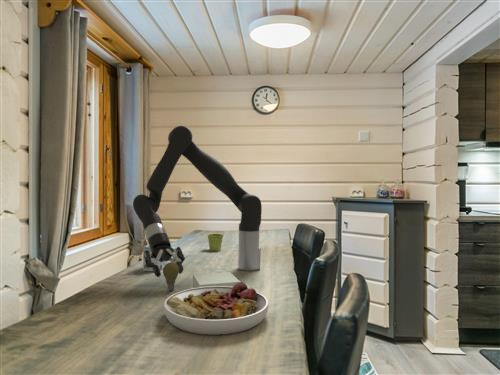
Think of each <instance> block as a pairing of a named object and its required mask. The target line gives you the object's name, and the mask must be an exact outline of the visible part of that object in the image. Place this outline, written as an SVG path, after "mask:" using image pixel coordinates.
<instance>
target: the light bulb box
mask: <svg viewBox="0 0 500 375" xmlns="http://www.w3.org/2000/svg"><path fill="white" fill-rule="evenodd" d="M142 249H143V258H142V260H143V268H142V270H143V272H153V273H154V270H153V268H151V267H149V268H147V266H146V262H145V258H144V253H145V251H146V250H148V251H151V249H150V246H149V244H146V245H144V246H143V248H142ZM150 257H151V261H152V262H153V263H154V261H155V259H156V258H154V257H153V256H152V255H151V256H150ZM167 263H168V261H163V262H160V261H158V263H157V265H158V266H159V269H160V271H162V270H163V268H164V266H165V265H166V264H167Z"/></svg>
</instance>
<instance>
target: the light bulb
mask: <svg viewBox="0 0 500 375" xmlns="http://www.w3.org/2000/svg"><path fill="white" fill-rule="evenodd" d="M162 274H163V276H164V279H165V281H166V282H165V283H166V284H167V290H168V291H171V292H172V291H174V289H175V284H176V281H177V280H176V279H177V277H178V275H179V268H178V266H177V265H176V264H175V263H172V262H170V261H169V262H167V264H166V265H165V266H164V268H163V269H162Z"/></svg>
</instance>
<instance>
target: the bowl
mask: <svg viewBox="0 0 500 375" xmlns="http://www.w3.org/2000/svg"><path fill="white" fill-rule="evenodd" d="M268 310H269V300H268V298H267V297H266V296H265V295H264V294H262V293H260V292H257V291H256V289H255V288H252V287H251V288H248V285H247V284H246V283H245V282H244V281H240V282H238V283H236V284H235V285H234V286H233V287H228V286H209V287H198V288H193V287H192V288H188V289H184V290H181V291H178V292H175V293H173V294H171V295H169V296H168V297H167V298H166V299H165V300H164V302H163V312H164V316H165V317H166V319H167V320H168V321H169V322H170V323H171V324H172V325H173V326H174V327H176V328H178V329H180V330H183V331H184V332H188V333H193V334H197V335H206V334H207V335H210V336H217V335H220V334H222V335H229V334H230V333H231V334H235V333H236V334H237V333H240V332H243V331H247V330H249V329H252V328H254V327H255V326H257V325H258V324H260V323H261V322H262V321H263V320H264V319H265V318H266V316H267V313H268ZM207 335H206V336H207Z"/></svg>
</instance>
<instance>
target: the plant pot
mask: <svg viewBox="0 0 500 375" xmlns="http://www.w3.org/2000/svg"><path fill="white" fill-rule="evenodd" d="M206 235H207V239H208V244H209V245H208V247H209V251H210V252H219V251H221V249H222V243H223V238H224V233H223V234H222V233H208V234H206Z"/></svg>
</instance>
